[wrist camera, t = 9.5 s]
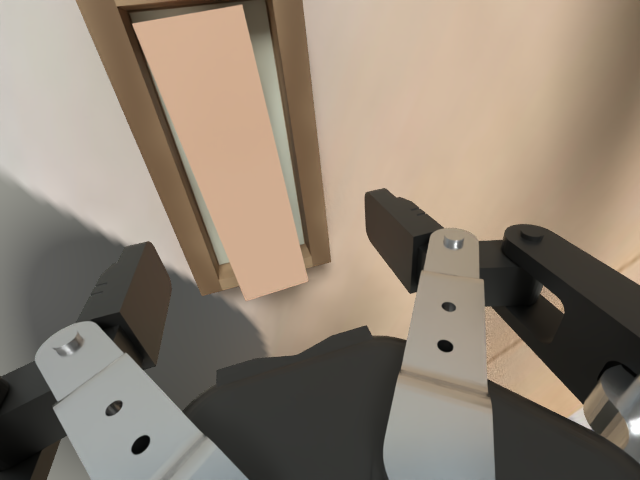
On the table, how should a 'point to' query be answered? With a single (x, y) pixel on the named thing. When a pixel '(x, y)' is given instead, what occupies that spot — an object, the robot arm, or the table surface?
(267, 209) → the strip
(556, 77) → the table surface
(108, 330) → the robot arm
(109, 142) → the table surface
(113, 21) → the picture frame
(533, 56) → the table surface
